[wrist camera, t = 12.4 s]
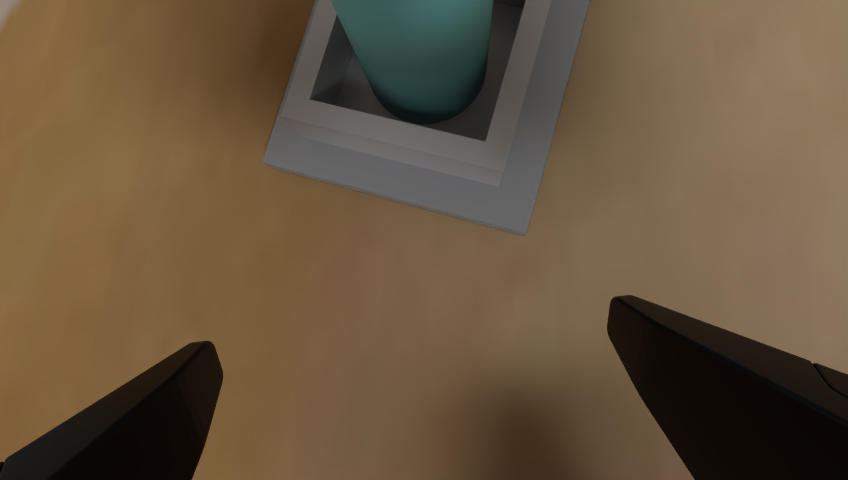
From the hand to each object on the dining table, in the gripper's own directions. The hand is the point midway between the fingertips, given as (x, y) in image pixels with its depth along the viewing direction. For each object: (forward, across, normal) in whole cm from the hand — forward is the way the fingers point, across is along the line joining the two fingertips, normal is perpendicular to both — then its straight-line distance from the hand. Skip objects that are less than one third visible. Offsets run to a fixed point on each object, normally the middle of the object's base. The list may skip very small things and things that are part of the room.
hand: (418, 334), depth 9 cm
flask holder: (+14, -2, -5) cm, 15 cm away
